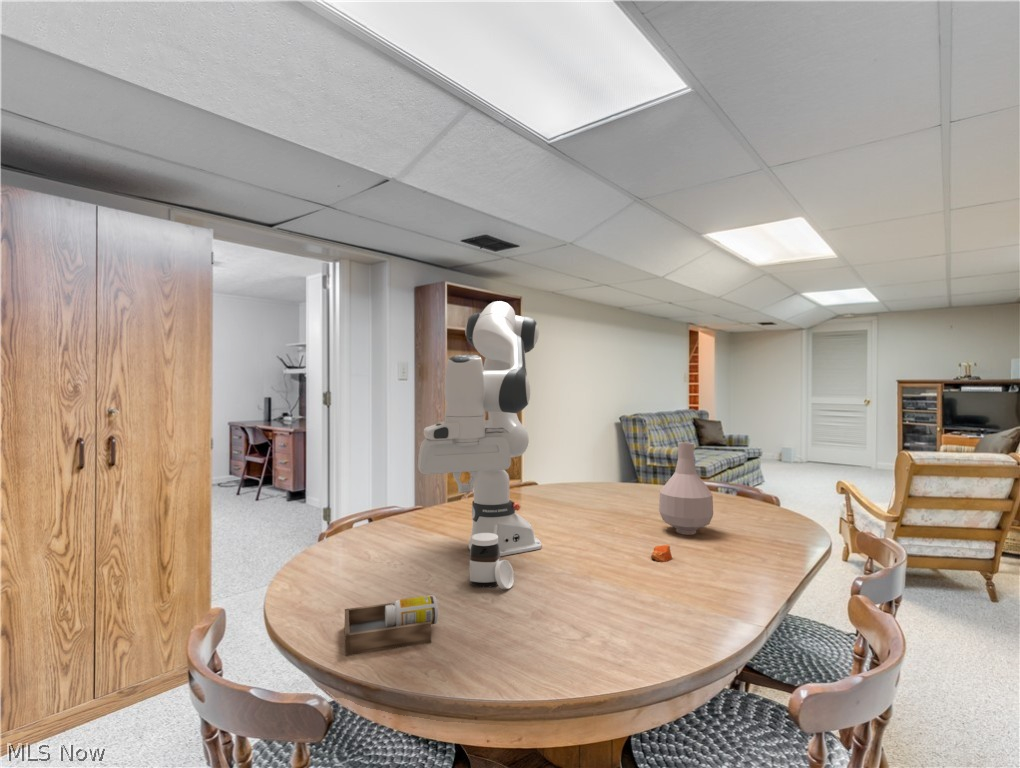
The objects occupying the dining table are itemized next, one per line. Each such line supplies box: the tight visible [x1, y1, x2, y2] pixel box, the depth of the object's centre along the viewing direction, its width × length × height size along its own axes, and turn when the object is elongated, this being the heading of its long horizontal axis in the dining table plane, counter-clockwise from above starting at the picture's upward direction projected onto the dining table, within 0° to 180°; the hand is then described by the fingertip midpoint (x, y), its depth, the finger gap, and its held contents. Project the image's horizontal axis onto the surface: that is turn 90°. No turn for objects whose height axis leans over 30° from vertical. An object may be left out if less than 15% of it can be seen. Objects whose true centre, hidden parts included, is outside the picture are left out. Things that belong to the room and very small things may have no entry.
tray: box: [344, 602, 432, 657], centre depth 105 cm, size 16×12×4 cm
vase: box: [658, 441, 714, 536], centre depth 177 cm, size 18×18×30 cm
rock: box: [650, 544, 673, 563], centre depth 151 cm, size 12×12×4 cm
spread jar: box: [469, 533, 515, 590], centre depth 132 cm, size 12×11×12 cm
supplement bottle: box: [385, 594, 439, 627], centre depth 107 cm, size 6×6×10 cm
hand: (465, 492), depth 114 cm, fingers closed
